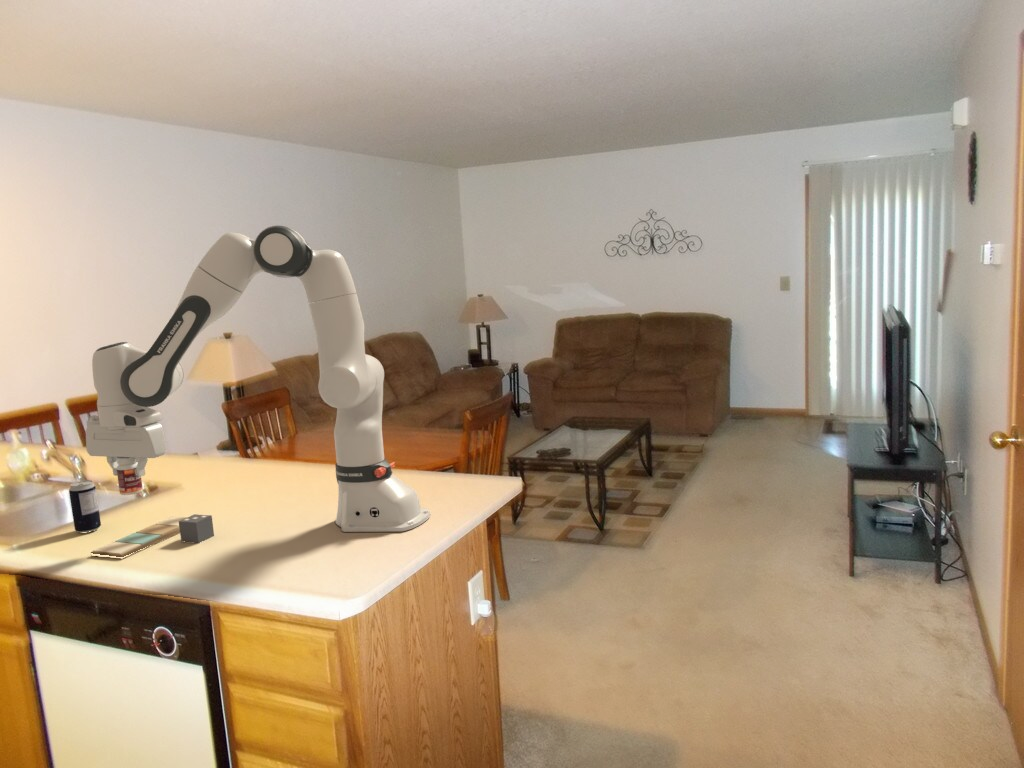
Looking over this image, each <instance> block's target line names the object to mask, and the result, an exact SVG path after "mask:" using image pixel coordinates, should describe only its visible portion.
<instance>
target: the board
mask: <svg viewBox="0 0 1024 768" xmlns="http://www.w3.org/2000/svg"><path fill="white" fill-rule="evenodd" d="M185 518H187V517H183V516H170V517H168V518H166V519H163V520H161V521H158V522H156V523H154V524H152V525H150V526H146V527H144V528H142V529H140V530H138V531H136V532H134V533H130V534H128V535H126V536H124V537H121V538H119V539H117V540H115V541H112V542H110V543H107V544H106V545H102V546H101V547H98V548H96V549H94V550H92V551H90V554H91V553H93V554H100V555H109V556H116V557H124V556H126V555H129V554H131V553H133V552H136V551H138V550H140V549H143V548H145V547H147V546H150V545H153V544H155V543H157V544H159V543H161V542H163V541H165V540H164V539H166V540H168V539H169V537H170V538H172V537H174V536H176V535H178V533H179V534H180V528H179V521H181V520H183V519H185ZM171 536H172V537H171ZM167 538H168V539H167ZM162 540H163V541H162ZM160 541H161V542H160ZM158 542H159V543H158ZM155 545H156V544H155ZM153 546H154V545H153Z"/></svg>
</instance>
